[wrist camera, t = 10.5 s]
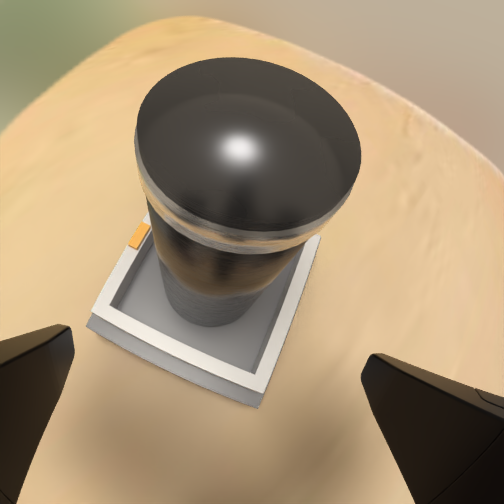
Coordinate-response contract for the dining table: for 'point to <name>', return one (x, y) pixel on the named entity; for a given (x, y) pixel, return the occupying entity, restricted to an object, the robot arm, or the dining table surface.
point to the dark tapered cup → (238, 178)
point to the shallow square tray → (194, 336)
